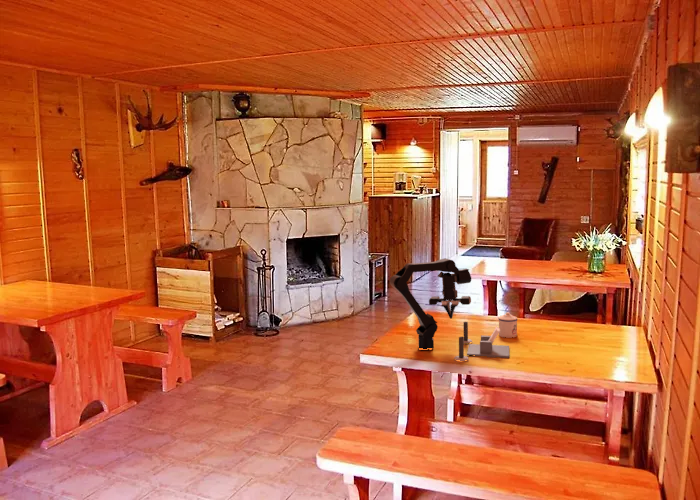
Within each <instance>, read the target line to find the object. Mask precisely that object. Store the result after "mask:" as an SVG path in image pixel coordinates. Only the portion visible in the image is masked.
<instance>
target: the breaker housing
mask: <svg viewBox="0 0 700 500" xmlns="http://www.w3.org/2000/svg"><path fill="white" fill-rule="evenodd" d="M490 336H491V335H480V340H479V344H475V343H472V344H468V348H467V352H466V356H467V355H475V356H487V357H486V358H496V357H500V359H504V358H505V359H510V345H497V344H493V343H492V341H488V340H489V338H490ZM475 356H474V357H475Z"/></svg>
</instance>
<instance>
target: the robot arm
mask: <svg viewBox="0 0 700 500" xmlns="http://www.w3.org/2000/svg"><path fill="white" fill-rule="evenodd" d="M433 271H436V272H437V271H438V272H439V273H438V274H437V277H438V278H441V279H442V280H441V281H442V282H441V283H442V292H441V293H442V298H440V296H431V297H430V298H429V299H428V303H429V304H428V305H429V306H436V305H437V304H438V303H441V307H443V308H444V310H445V312H446V313H447V315H448V317H449V320H450V319H453V316H454V312H455V309H456V307H458V306H459V304H461V305H462V306H465V305H466V306H467V305H470V304H471V303H472V298H471V295H462V296H461V297H460V298H459V297H458V290H457V289H456V284H457V285H462V284H464V285H465V284H469V283H471V281H472V275H471V273H470V271H469V269H468V268H463V269H459V268H458V267H457V265H456V263H455V261H454V260H453V259H449V258H442V259H441V258H440V259H438V260H435V261H428V262H415V263H409V262H408V263H406V264H404V266H403V267H402V268H401V269H399V270H398V271H397V272H396V273H395V274H394V275H392V276H391V277H390V279H389V285H390V286H391V287H392V288H393V289H394V290H395V291H396V292H397V293H398V294H400V295H401V297H402V298H403V300H404V301H405V302H406V303H407V305H408V306H409V308H410V310H411V311H413V314H414V315H415V316H416V317H417V320H418V323H419V326H418V327H417V329H416V330H415V331H416V334H417V335H418V346H419V348H423V349H427V348H433V349H434V348H435V347H434V345H435V344H434V341H435V339H434V336H435V334H436V332H437V330H438V324H437V323H438V322H437V321H436V320H435V318H434V316H433V315H431V314H429V313H426V312H425V310H424V309H423V308H422V306H421V305H420V304H419V302H418V300H417V299H416V298H415V296H414V295H413V294H412V292H411V291H410V287H409V285H408V283H407V282H409V280H410V279H411V277H412V275H413V274H414V273H419V272H420V273H421V272H422V273H423V272H433Z"/></svg>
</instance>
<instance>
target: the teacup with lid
mask: <svg viewBox="0 0 700 500" xmlns="http://www.w3.org/2000/svg"><path fill="white" fill-rule="evenodd" d="M498 328H500V332H499V333H498V336H500V337H501V338H505V337H506V338H512V337H513V338H515V337H517V336H518V317H517V316H514V315H513V314H511V313H510V312H509V311H507V312H506V313H505V314H503V315H500V316H499V317H498Z"/></svg>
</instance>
